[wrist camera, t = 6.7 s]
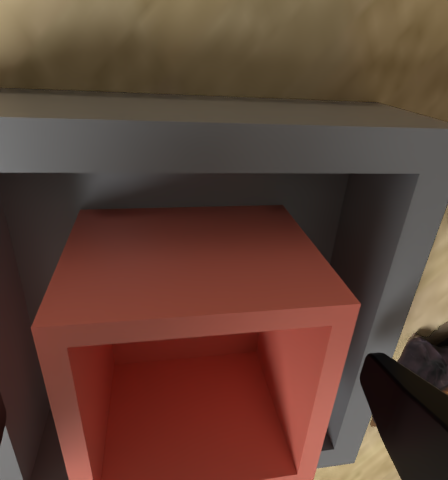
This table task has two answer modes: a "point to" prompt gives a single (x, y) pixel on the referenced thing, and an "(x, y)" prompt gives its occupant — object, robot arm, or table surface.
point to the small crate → (192, 344)
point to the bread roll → (428, 358)
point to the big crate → (212, 195)
